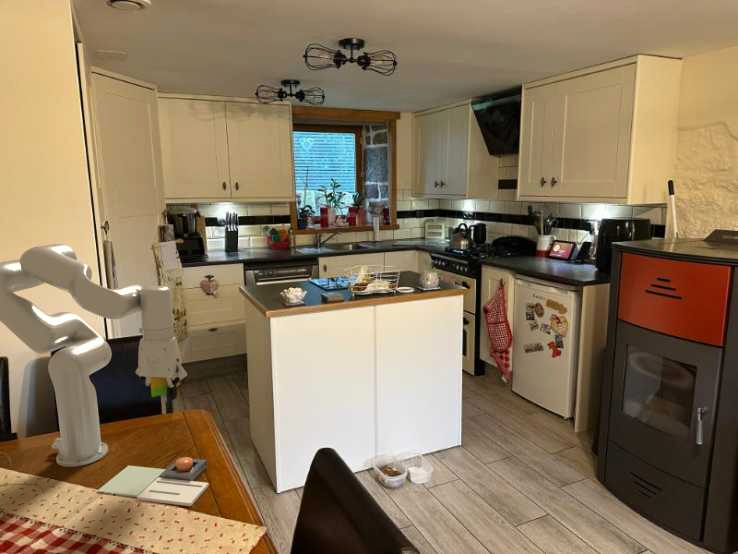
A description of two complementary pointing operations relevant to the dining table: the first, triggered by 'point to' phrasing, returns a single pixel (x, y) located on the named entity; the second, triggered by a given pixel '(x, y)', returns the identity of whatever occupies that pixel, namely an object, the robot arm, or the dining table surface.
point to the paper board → (173, 491)
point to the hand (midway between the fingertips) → (163, 398)
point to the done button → (184, 464)
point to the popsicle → (159, 390)
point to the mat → (132, 481)
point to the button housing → (188, 476)
